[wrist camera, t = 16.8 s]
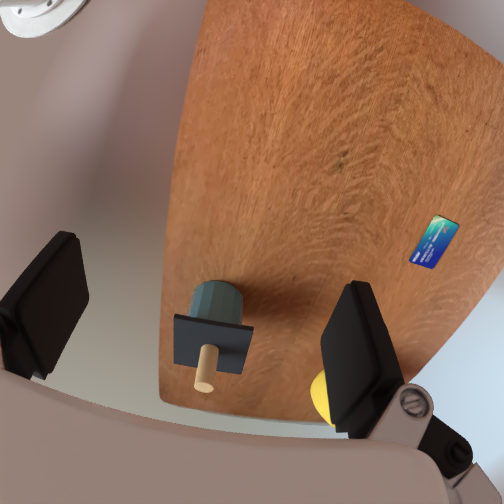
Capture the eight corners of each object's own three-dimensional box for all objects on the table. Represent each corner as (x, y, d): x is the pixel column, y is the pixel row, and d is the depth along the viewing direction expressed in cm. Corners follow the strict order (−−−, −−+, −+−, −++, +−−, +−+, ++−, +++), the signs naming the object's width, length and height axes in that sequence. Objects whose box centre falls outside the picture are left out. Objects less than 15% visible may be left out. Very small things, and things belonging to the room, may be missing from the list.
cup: (191, 313, 51) (181, 356, 43) (194, 276, 46) (182, 319, 39) (239, 321, 51) (235, 365, 44) (247, 285, 47) (244, 330, 39)
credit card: (432, 269, 44) (432, 269, 44) (408, 261, 43) (408, 261, 43) (459, 225, 39) (459, 225, 39) (435, 214, 39) (435, 214, 39)
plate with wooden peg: (174, 359, 44) (165, 398, 38) (174, 313, 38) (162, 357, 33) (241, 370, 45) (238, 410, 39) (253, 326, 39) (251, 372, 33)
